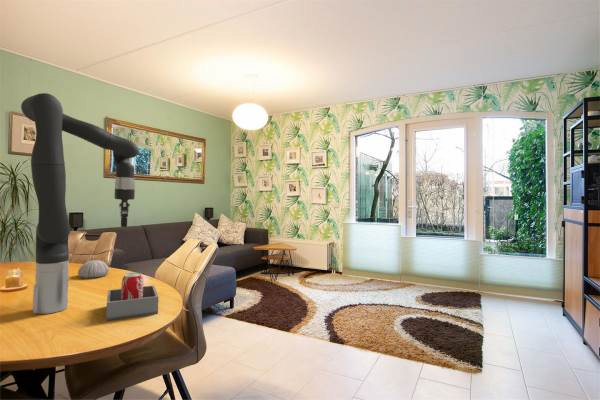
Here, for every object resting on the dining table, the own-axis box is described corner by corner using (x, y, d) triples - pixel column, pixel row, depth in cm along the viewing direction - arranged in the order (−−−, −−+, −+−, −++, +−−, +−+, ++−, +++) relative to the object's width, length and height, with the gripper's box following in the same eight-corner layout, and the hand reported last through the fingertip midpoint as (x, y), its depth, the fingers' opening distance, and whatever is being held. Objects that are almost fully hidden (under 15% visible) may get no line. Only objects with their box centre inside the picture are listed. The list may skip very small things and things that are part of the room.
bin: (106, 321, 103) (106, 302, 103) (107, 306, 117) (108, 290, 116) (157, 313, 111) (158, 296, 111) (153, 300, 124) (154, 285, 124)
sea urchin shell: (71, 277, 154) (71, 261, 154) (96, 271, 167) (96, 256, 166) (91, 280, 150) (92, 264, 150) (116, 274, 163) (116, 259, 163)
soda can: (133, 311, 110) (134, 277, 110) (115, 309, 111) (117, 275, 111) (146, 305, 117) (148, 272, 117) (130, 303, 118) (131, 271, 118)
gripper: (114, 188, 139) (113, 224, 139) (114, 187, 126) (113, 227, 126) (134, 188, 142) (133, 224, 143) (135, 188, 130) (134, 227, 130)
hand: (123, 226), depth 135 cm, fingers open, 8 cm apart
